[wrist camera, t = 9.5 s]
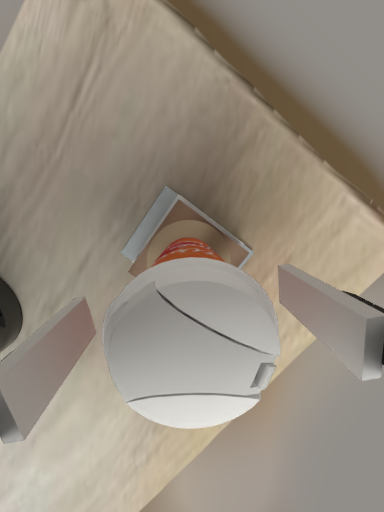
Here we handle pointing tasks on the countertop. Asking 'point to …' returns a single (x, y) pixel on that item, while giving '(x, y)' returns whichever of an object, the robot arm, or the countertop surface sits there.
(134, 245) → the build plate
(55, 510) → the countertop surface
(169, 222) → the pedestal
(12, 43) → the countertop surface
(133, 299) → the coffee cup
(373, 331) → the robot arm
